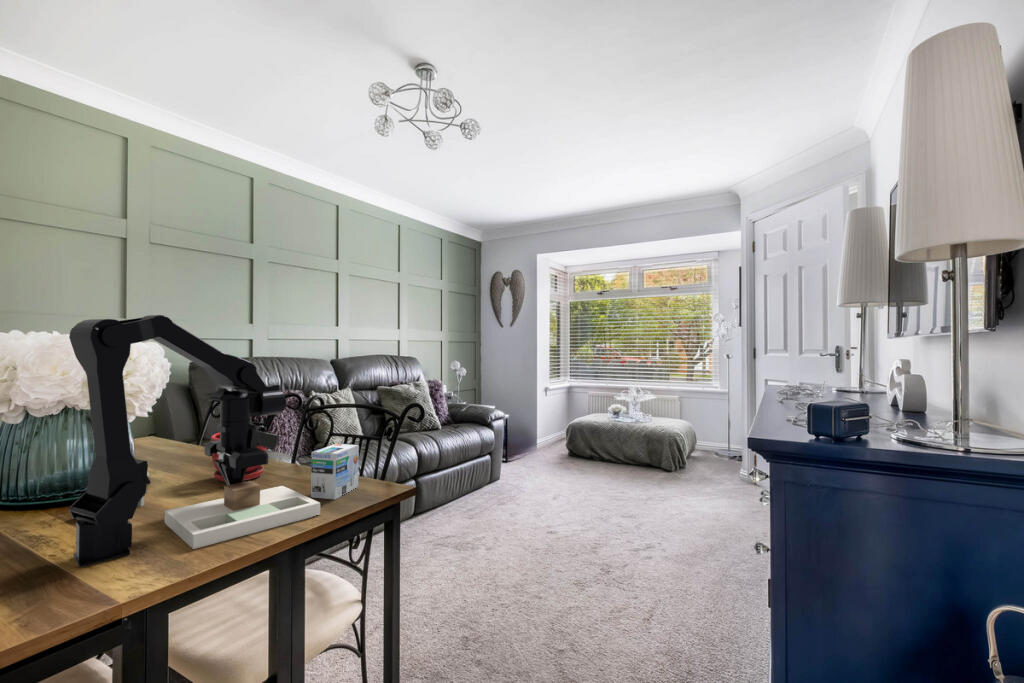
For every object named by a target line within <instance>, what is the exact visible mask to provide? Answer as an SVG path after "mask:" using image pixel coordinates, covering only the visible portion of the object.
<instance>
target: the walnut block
mask: <svg viewBox="0 0 1024 683" xmlns="http://www.w3.org/2000/svg"><path fill="white" fill-rule="evenodd" d="M223 487H224V488H223V489H224V490H223V492H224V494H223V495H224V496H223V498H224V506H226V507H228V508H229V509H231V510H233V511H236V510H240V509H244V508H248V507H253V506H257V505H260V490H261V485H260V484H258V483H256V482H254V481H252V480H246V481H242V483H236V484H231V485H227V484H226V485H224V486H223Z"/></svg>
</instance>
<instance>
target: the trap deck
mask: <svg viewBox="0 0 1024 683" xmlns="http://www.w3.org/2000/svg"><path fill="white" fill-rule="evenodd" d="M316 515H318V516H320V515H321V502H319V501H317V500H315V499H313V498H312V497H309V496H306V495H304V494H301V493H299V492H297V491H295V490H293V489H291V488H288V487H286V486H284V485H279V486H275V487H269V488H266V489H265V488H264V489H260V505H257V506H253V507H248V508H244V509H240V510H236V511H233V510H231V509H229V508H228V507H226V506H224V497H223V498H218V499H212V500H209V501H203V502H198V503H194V504H190V505H185V506H180V507H175V508H170V509H165V510H164V524H165V525H166V526H167V527H168V528H169V529H171V531H173V532H174V533H175V534H176V535H177V536H178V537H179V538H180V539H181V540H182V541H184V542H185V543H186V544H187V545H188V546H189V547H190V548H191V549H193V550H195V549H199V548H203V547H206V546H210V545H213V544H218V543H222V542H224V541H229V540H232V539H233V540H234V539H237V538H239V537H244V536H246V535H251V534H255V533H258V532H263V531H266V530H268V529H272V528H277V527H281V526H284V525H287V524H291V523H295V522H299V521H303V520H307V519H310V518H313V516H314V517H317V516H316Z"/></svg>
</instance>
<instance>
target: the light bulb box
mask: <svg viewBox="0 0 1024 683" xmlns="http://www.w3.org/2000/svg"><path fill="white" fill-rule="evenodd" d="M359 451H360V445H359V444H347V443H333V444H331V445H328V446H326V447H323V448H320V449H317V450H314V451H311V462H310V464H311V466H310V467H311V470H310V471H311V472H310V478H311V479H310V480H311V481H310V483H311V484H310V498H312V499H313V498H315V499H327V500H337V499H339V498H341V497H343V496H344V494H345V495H346V493H347V494H348V492H349V493H350V492H352V491H354V490H356V489H358V488H359V458H360V457H359V456H360V452H359ZM357 487H358V488H357ZM355 488H356V489H355ZM353 489H354V490H353ZM351 490H352V491H351ZM342 495H343V496H342Z"/></svg>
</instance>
